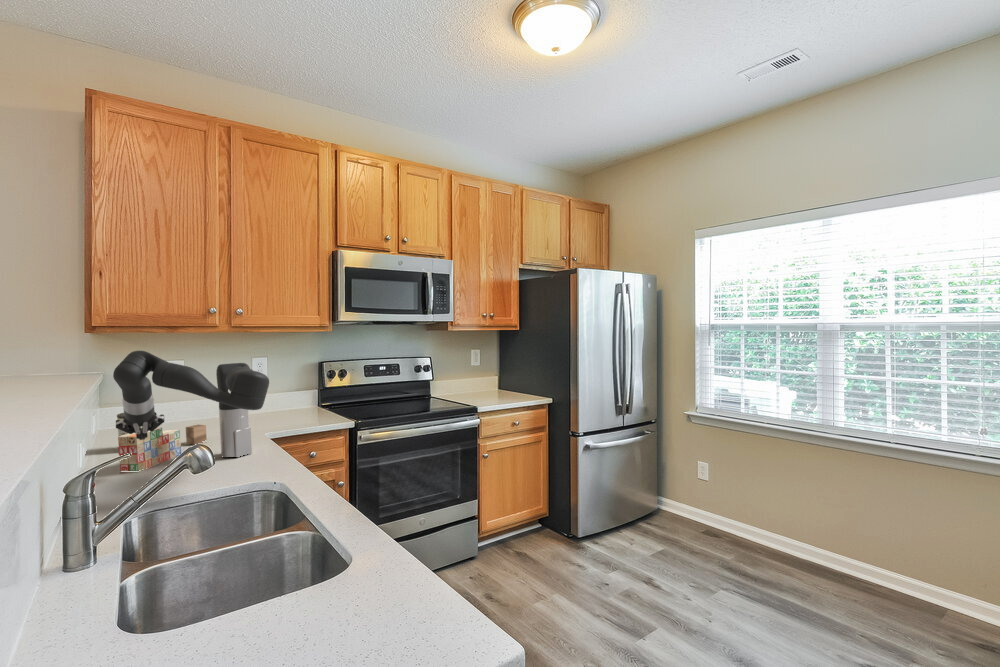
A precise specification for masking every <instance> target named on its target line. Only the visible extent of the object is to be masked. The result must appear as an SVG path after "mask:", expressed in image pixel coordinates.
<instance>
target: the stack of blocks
mask: <svg viewBox="0 0 1000 667" xmlns="http://www.w3.org/2000/svg"><path fill="white" fill-rule="evenodd" d="M180 434H181V432H180V429H171V430H170V429H169V430H168V429H166V430H164V429H163V427H160V426H159V427H157V428H156V429H155V430H154V431H148V432H147V435H148V437H147V438H145V439H144V440H140V439H137V436H136V433H133V434H129V433H128V434H126V435H122V436H117V441H118V457H119V456H121V455H124V454H127V453H132V455H131V457H129V458H127V459H123V460H121V461H120V460H119V472H120V471H139V470H142V469H146V468H148V469H150V468H149V467H151V466H153V467H155V466H158V465H159V464H158V463H160V464H161V462H162V463H164V462H166V461H168V460H171V459H173V458H176V457H178V456H180V455H182V443H181V442H182V441H181V435H180ZM179 454H180V455H179ZM157 464H158V465H157ZM154 465H155V466H154ZM151 468H152V467H151ZM146 470H147V469H146Z"/></svg>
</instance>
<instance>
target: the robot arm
mask: <svg viewBox="0 0 1000 667" xmlns="http://www.w3.org/2000/svg"><path fill="white" fill-rule="evenodd" d="M151 372H152V374H151V379H152V382H151V380H150V379H149V378H148V374H149V373H151ZM215 372H216V384H217V386H215V384H213V383H212V382H211V381H210V380H209V379H207V377H205V376H204V374H202V373H201V372H200V371H199V370H197V369H195V368H193V367H190V366H187V365H182V364H178V363H174V362H169V361H167V360H164V359H162V358H161V357H158V356H156V355H154V354H152V353H151V352H149V351H145V350H134V351H132V352H130V353H129V354H127V356H126V357H124V358H123V360H122V361H121V362H120V363H119V364H118V365H117V366H115V368H114V371H113V376H112V377H113V379H114V381H115V383H116V384H117V385H118V387H119V388H120V389H121V394H122V407H123V413H124V417H123V419H122V420H117V419H116V420H115V429H117V430H118V429H119V430H122V431H124V432H126V433H129V434H133V433H136V436H137V439H140V440H144V439H145V438H147V437H148V435H147V432H148V431H154V430H155V429H156V428H160V426H161V425H162V424H163V423H165V414H160V415H159V414H157V412H156V411H155V397H154V394H153V390H152V383H153V384H154V385H156V386H158V387H162V388H166V389H170V390H176V391H180V392H181V391H182V392H184V393H190V394H193V395H196V396H199V397H201V398H205V399H208V400H211V401H214V402H216V403H218V414H219V418H218V419H219V435H220V439H219V440H220V450H221V451H220V453H221V454H220V455H221V456H223V457H238V458H241V457H244V456H243V455H245V456H247V454H248V455H251V454H252V453H253V450H252V432H251V431H252V430H251V427H250V424H249V423H250V420H249V419H250V417H249V411H258V410H261V409H262V408H263V407H264V404H265V400H266V397H267V393H268V390H269V385H270V379H269V377H268V376H267V375H266V374H264V373H262V372H259V371H256V370H253V369H252V368H250V365H249V364H247V363H245V362H237V363H236V362H235V363H234V362H232V363H222V364H221V363H219V365H217V367H216V371H215ZM141 426H142V429H141ZM128 428H129V429H128ZM240 456H241V457H240ZM223 457H222V458H223Z"/></svg>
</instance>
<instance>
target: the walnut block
mask: <svg viewBox="0 0 1000 667" xmlns="http://www.w3.org/2000/svg"><path fill="white" fill-rule="evenodd" d="M185 438H186V439H185V440H186V441H185V442H186V445H187V444H192V445H191V446H196V445H195V444H198V443H202V444H204V443H203V442H202V441H205V440H207V439H208V438H207V425H206V424H198V423H197V424H195V425H190V426H185ZM198 445H199V444H198Z"/></svg>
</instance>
